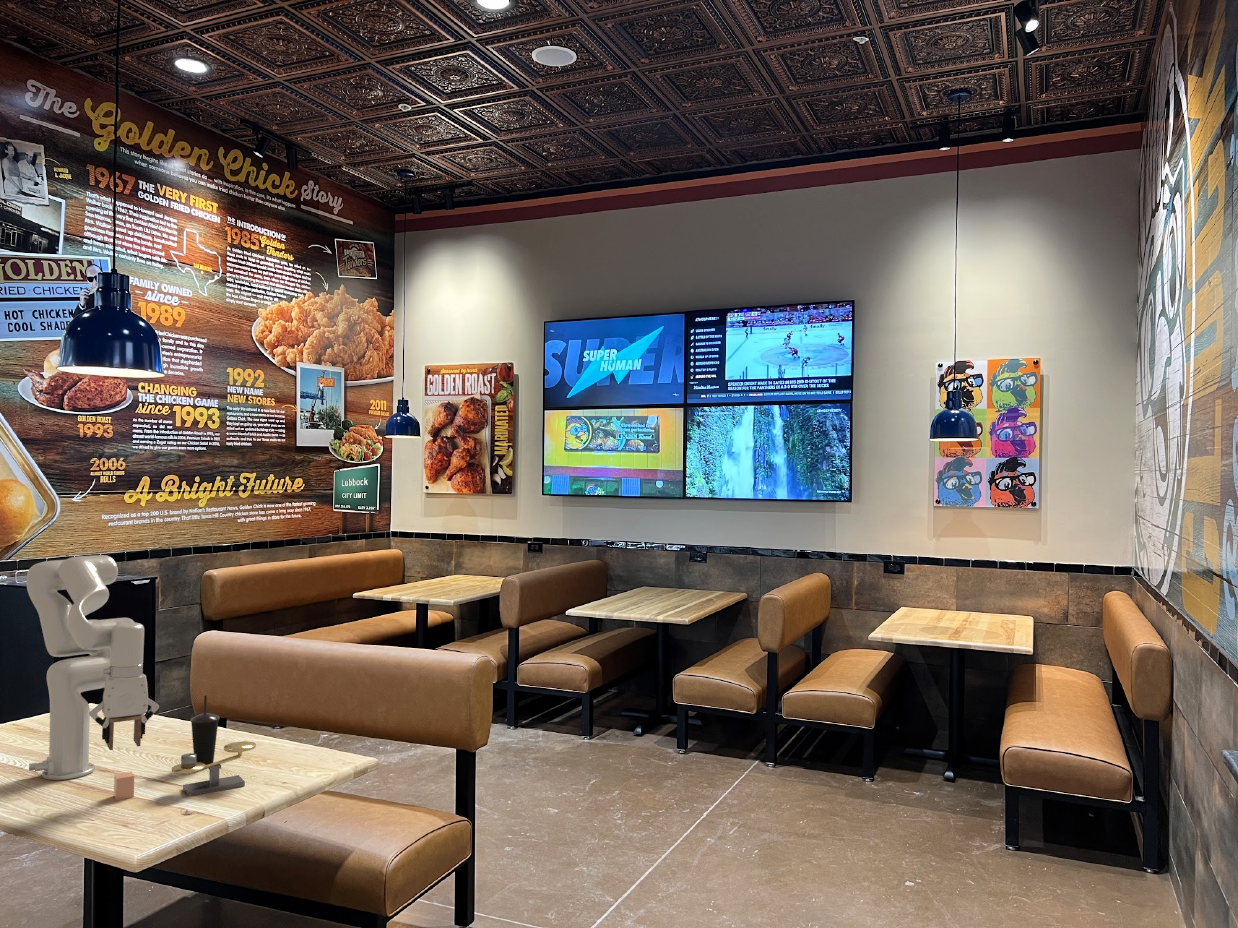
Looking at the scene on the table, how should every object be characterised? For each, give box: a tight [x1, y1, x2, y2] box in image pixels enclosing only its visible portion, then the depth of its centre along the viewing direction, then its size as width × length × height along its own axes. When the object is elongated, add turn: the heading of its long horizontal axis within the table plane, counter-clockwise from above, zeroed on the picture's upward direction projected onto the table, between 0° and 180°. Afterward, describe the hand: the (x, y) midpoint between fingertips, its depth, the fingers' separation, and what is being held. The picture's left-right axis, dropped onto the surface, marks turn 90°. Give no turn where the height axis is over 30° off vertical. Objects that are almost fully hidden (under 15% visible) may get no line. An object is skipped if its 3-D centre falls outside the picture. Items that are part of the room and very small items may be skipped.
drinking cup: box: [190, 695, 220, 765], centre depth 260 cm, size 8×8×20 cm
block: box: [113, 771, 135, 801], centre depth 235 cm, size 4×4×6 cm
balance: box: [171, 740, 257, 797], centre depth 242 cm, size 21×8×10 cm, turn 127°
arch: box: [105, 715, 142, 751], centre depth 235 cm, size 7×6×8 cm
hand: (123, 738), depth 235 cm, fingers closed on arch, 7 cm apart
